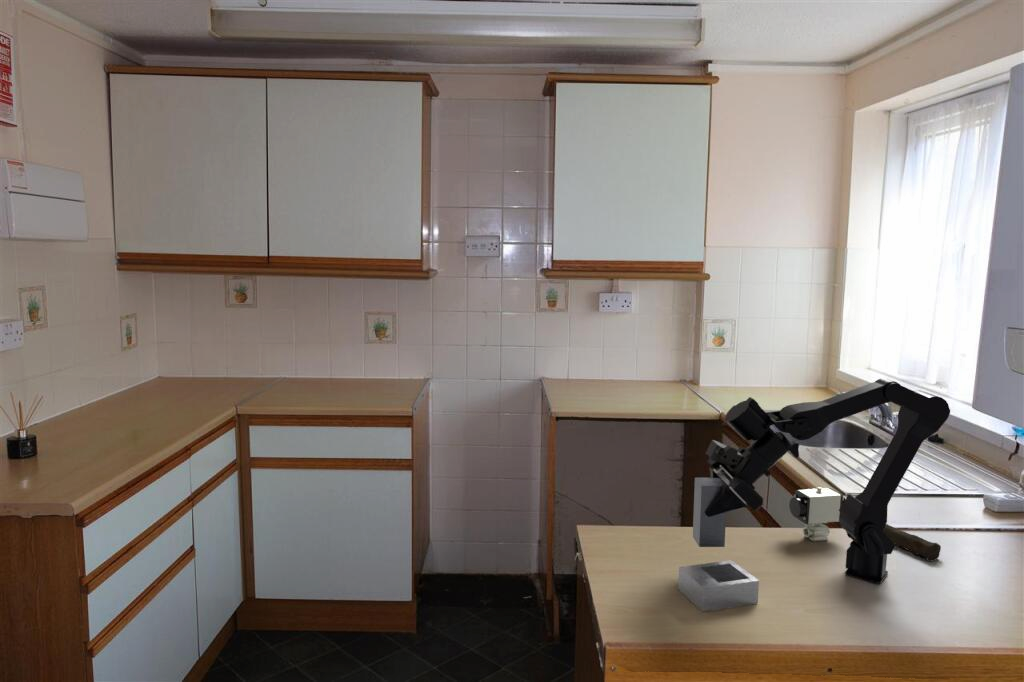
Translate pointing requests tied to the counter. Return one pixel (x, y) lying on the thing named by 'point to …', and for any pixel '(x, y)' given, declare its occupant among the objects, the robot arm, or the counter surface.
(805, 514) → the pneumatic valve
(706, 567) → the block with rectangular hole
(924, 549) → the hand tool
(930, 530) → the counter surface
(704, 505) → the peg
